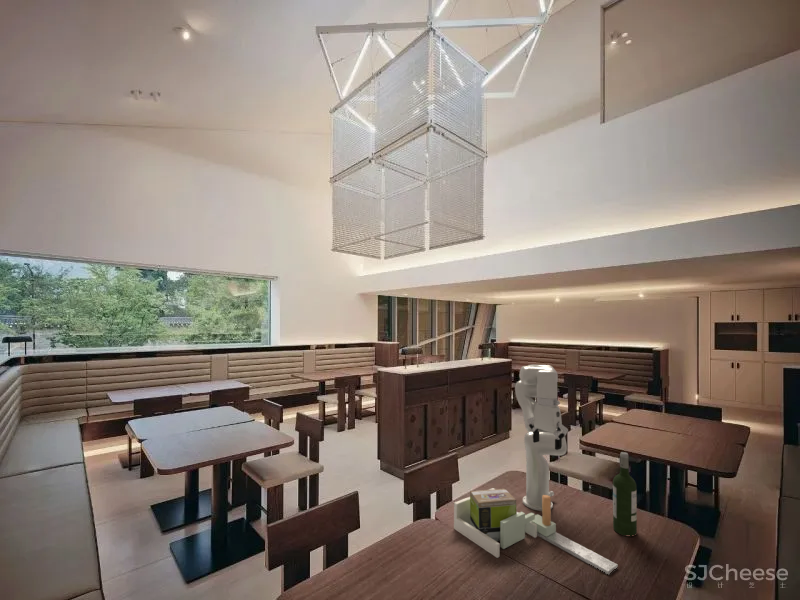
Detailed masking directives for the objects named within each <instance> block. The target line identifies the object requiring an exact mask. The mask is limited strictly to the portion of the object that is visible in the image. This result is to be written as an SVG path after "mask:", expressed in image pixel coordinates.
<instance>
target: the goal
mask: <svg viewBox="0 0 800 600" xmlns="http://www.w3.org/2000/svg"><path fill="white" fill-rule="evenodd" d="M493 489H495V488H494V487H492V488H489V489H488V490H493ZM453 529H454V530H455V531H457V532H459V533H460V534H461V535H462V536H464V537H465V538H467V539H468V540H470V541H471V542H472V543H474V544H476V545H477V546H479V547H480V548H482V549H483V550H485V551H486V552H488V553H489V554H490V555H492V556H494V557H495V558H497V559H498V558H499V557H500V548H501V547H500V543H499V542H498V541H495V540H493V539H492V538H490V537H489V536H487V535H485V534H484V533H482V532H481V531H479V530H478V529H476V528H474V527H473V526H471V525H470V496H468V497H466V498H462V499H460V500H458V501H454V503H453ZM525 534H528V535H529V536H531V537H532V538H537V537H538V536H537V524H535V523H533V522H529V523H527V524H525Z"/></svg>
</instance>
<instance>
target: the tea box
mask: <svg viewBox="0 0 800 600" xmlns="http://www.w3.org/2000/svg"><path fill="white" fill-rule="evenodd" d="M469 497H470V525H471V526H473V527H474V528H476V529H478V530H479V531H481V532H482V533H484V534H485V535H487V536H489V537H490V538H492V539H493V540H495V541H497V542H498V541H499V542H500V521H502V520H504V519H507V518H509V517H511V516H513V515H515V514H517V499H516V498H515V497H514V496H513V495H512V494H511V493H510V492H509V491H508V490H507V489H506V488H494V489H493V490H489V489H483V490H482V489H480V490H470V491H469Z"/></svg>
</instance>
